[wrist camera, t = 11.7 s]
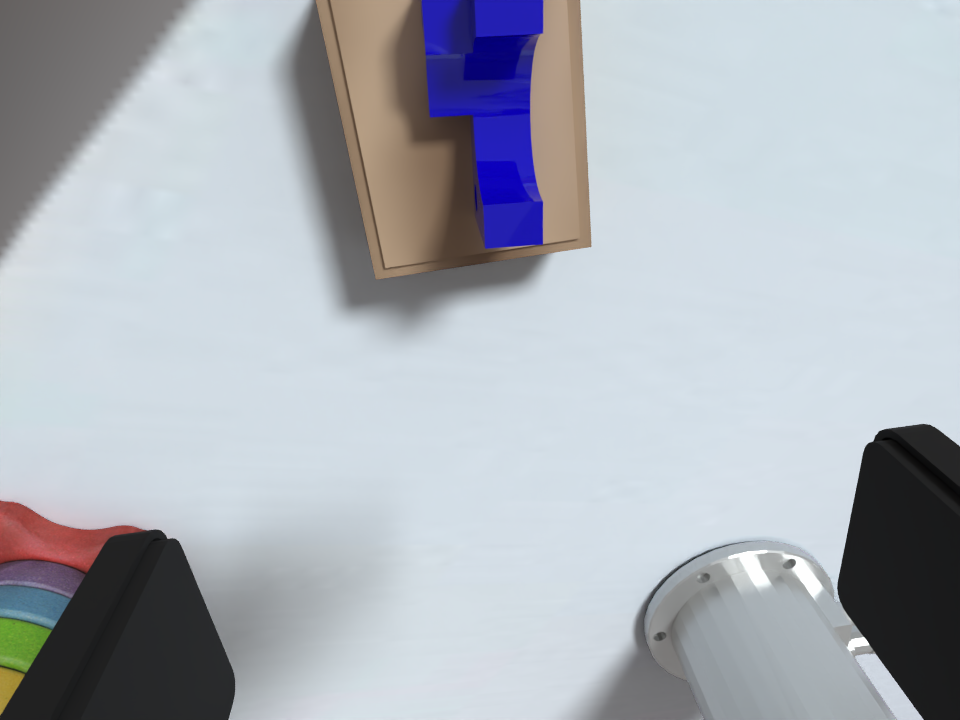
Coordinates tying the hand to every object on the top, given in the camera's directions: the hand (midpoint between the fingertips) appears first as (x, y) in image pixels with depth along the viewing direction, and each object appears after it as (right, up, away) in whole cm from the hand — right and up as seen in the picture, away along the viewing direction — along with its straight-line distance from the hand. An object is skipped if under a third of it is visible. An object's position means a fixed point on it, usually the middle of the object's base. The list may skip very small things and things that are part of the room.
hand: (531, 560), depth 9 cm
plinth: (-2, +13, +19) cm, 23 cm away
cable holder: (-1, +12, +15) cm, 19 cm away
